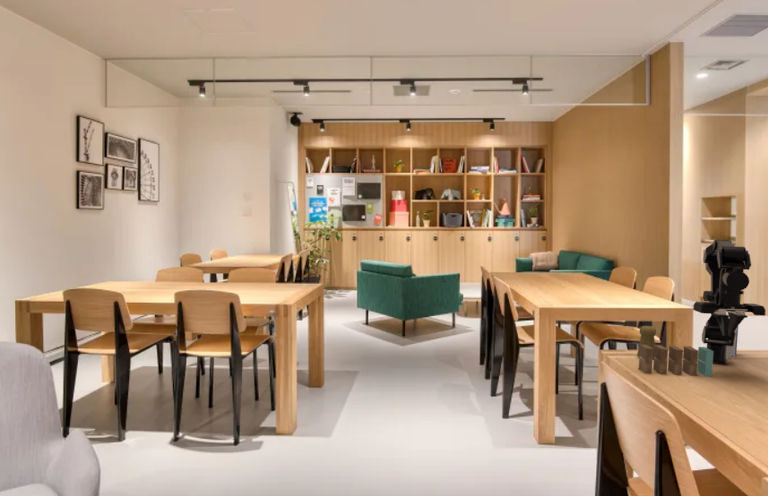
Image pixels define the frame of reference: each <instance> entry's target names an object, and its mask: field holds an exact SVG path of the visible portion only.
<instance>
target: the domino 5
mask: <svg viewBox="0 0 768 496" xmlns="http://www.w3.org/2000/svg"><path fill="white" fill-rule="evenodd" d="M697 350H698V361H697V373H699V374H701V375H702V376H704V377H712V376H713V364H714V363H713V351H712V350H710V349H708V348H707V346H698V348H697Z"/></svg>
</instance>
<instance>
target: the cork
mask: <svg viewBox="0 0 768 496" xmlns="http://www.w3.org/2000/svg"><path fill="white" fill-rule="evenodd" d="M656 329H657V328H655V327H654V326H650V325H642V326H640V328H639V334H640V339H639V342H638V343H639V345H638V348H637V353H636V357H637V356H638V357H639V356H640V344H641V345H648V346H649V347H651V348H653V358H652V361H654V348H655V345H656V342H655V341H656V340H655V336H656V335H657V330H656ZM638 357H637V358H638Z"/></svg>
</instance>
